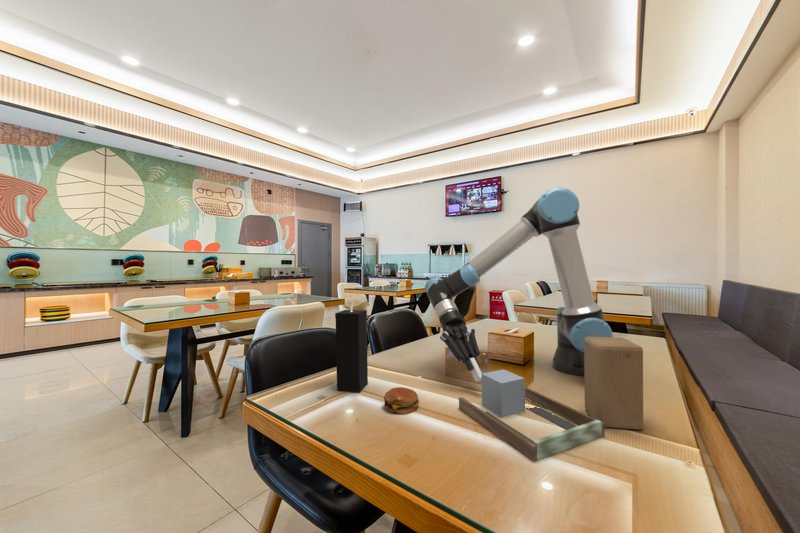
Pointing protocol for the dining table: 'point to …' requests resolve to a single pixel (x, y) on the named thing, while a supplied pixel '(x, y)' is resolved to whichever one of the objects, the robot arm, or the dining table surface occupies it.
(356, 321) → the black tall block
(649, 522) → the dining table surface
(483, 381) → the slate block
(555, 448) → the u-shaped frame
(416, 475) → the dining table surface
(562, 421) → the pads
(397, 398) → the burger
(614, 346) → the wooden block
